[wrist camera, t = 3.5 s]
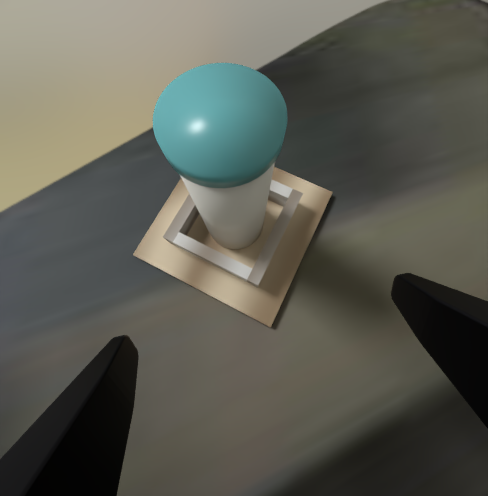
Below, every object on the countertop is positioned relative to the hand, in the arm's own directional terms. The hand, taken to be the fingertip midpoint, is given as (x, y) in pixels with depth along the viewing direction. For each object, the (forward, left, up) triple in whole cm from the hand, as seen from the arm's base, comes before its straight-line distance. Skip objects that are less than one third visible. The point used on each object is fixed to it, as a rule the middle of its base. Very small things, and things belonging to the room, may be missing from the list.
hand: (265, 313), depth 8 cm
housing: (+5, -6, -14) cm, 16 cm away
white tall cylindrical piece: (+5, -6, -13) cm, 15 cm away
